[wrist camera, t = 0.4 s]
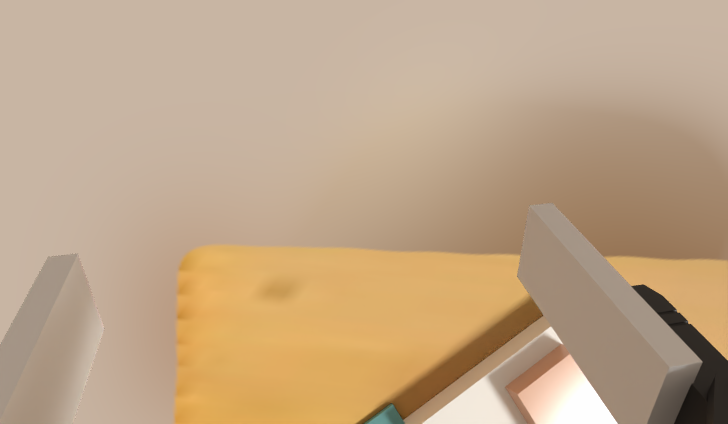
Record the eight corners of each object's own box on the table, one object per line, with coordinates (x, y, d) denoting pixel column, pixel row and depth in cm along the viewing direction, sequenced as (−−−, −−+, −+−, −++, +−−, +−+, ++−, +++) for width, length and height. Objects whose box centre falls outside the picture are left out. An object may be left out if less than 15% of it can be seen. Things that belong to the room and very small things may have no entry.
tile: (612, 429, 53) (630, 438, 50) (558, 474, 51) (573, 485, 49) (561, 343, 52) (576, 348, 50) (504, 386, 51) (517, 394, 48)
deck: (628, 414, 56) (649, 424, 53) (478, 538, 52) (491, 556, 50) (560, 302, 55) (578, 305, 53) (402, 420, 52) (411, 431, 49)
